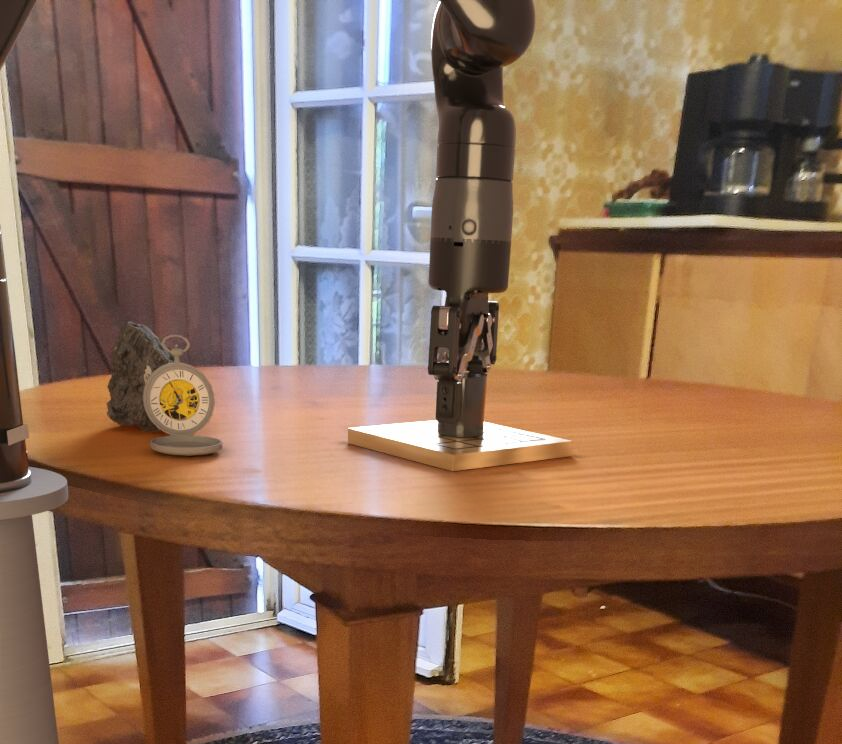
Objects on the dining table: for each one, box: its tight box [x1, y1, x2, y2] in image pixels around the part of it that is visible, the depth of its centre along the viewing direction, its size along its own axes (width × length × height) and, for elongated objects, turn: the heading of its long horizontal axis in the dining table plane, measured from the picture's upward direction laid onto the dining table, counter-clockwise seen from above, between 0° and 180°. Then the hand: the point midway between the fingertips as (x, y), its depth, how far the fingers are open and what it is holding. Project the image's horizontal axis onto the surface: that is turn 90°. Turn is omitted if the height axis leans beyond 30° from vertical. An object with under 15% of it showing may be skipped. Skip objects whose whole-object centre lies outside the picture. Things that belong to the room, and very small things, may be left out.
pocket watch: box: [143, 334, 223, 457], centre depth 99 cm, size 8×8×10 cm
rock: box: [106, 320, 198, 432], centre depth 111 cm, size 12×10×10 cm
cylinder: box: [437, 371, 488, 438], centre depth 106 cm, size 5×5×6 cm
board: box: [347, 419, 574, 472], centre depth 107 cm, size 16×16×2 cm
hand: (460, 416), depth 106 cm, fingers open, 8 cm apart
